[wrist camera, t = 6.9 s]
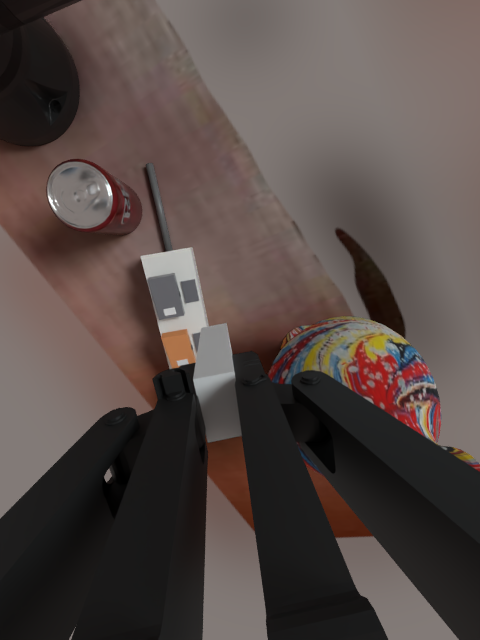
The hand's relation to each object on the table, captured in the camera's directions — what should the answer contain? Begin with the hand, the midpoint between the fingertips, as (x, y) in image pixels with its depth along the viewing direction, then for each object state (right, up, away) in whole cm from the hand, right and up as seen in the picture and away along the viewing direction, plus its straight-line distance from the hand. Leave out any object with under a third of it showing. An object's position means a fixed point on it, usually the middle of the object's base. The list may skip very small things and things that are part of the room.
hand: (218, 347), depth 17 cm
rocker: (-9, +5, +23) cm, 25 cm away
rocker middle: (-8, -3, +25) cm, 26 cm away
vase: (+12, -3, +33) cm, 35 cm away
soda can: (-17, +18, +25) cm, 34 cm away
